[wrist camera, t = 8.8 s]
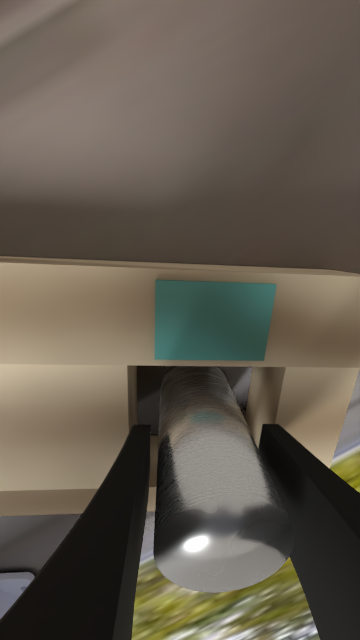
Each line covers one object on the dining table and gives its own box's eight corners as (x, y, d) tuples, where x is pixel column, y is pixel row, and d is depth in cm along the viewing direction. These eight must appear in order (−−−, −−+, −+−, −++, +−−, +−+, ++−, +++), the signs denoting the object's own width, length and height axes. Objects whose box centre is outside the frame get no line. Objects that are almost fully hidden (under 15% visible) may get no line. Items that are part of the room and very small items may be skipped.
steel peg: (224, 416, 13) (283, 588, 7) (160, 417, 13) (154, 596, 6) (230, 358, 12) (306, 493, 5) (160, 358, 12) (152, 499, 5)
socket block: (287, 453, 14) (320, 510, 11) (-145, 460, 13) (-244, 529, 10) (329, 269, 11) (392, 278, 8) (-246, 246, 9) (-447, 245, 6)
